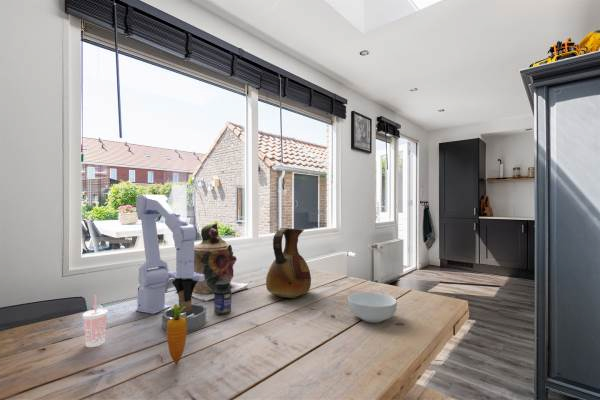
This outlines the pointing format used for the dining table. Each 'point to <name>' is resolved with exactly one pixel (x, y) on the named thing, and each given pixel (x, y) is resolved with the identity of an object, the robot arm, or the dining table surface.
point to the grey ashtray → (188, 317)
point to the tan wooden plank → (183, 303)
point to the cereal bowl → (372, 306)
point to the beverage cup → (95, 326)
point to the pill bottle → (222, 298)
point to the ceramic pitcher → (288, 266)
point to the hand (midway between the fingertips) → (185, 300)
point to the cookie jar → (213, 264)
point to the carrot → (176, 333)
